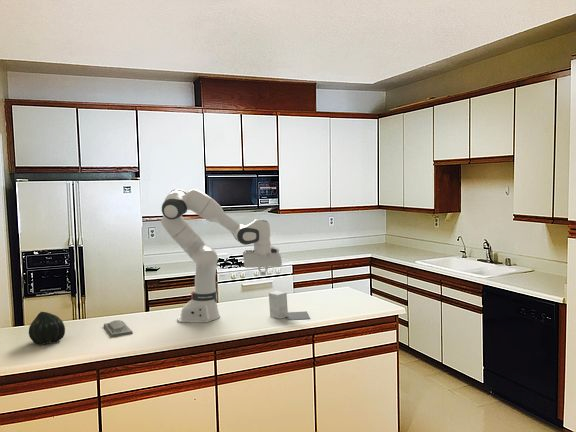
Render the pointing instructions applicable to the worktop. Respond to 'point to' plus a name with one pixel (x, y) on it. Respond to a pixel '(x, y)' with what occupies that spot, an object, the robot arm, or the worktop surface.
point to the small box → (278, 304)
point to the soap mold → (117, 328)
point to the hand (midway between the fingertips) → (263, 275)
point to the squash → (46, 328)
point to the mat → (297, 315)
